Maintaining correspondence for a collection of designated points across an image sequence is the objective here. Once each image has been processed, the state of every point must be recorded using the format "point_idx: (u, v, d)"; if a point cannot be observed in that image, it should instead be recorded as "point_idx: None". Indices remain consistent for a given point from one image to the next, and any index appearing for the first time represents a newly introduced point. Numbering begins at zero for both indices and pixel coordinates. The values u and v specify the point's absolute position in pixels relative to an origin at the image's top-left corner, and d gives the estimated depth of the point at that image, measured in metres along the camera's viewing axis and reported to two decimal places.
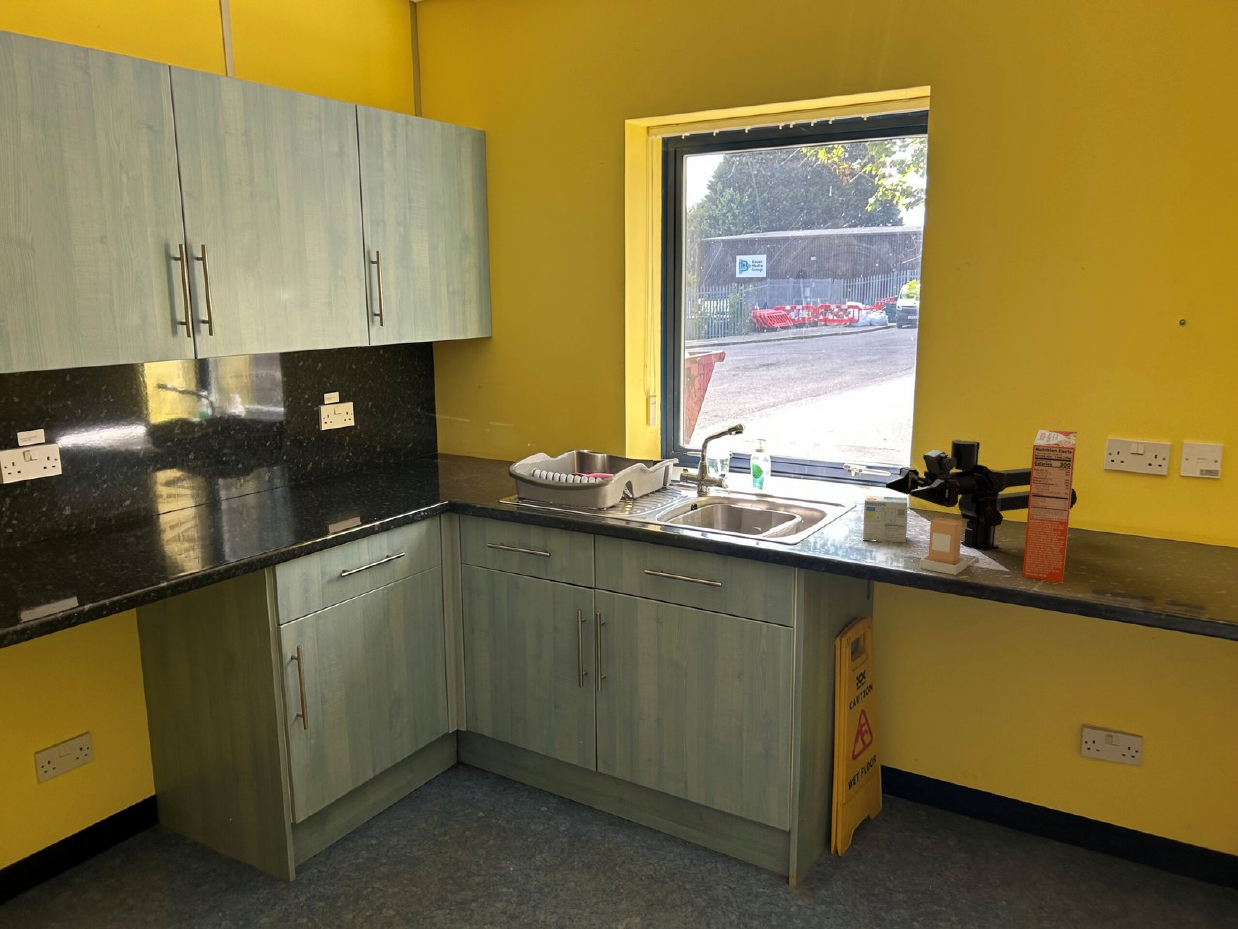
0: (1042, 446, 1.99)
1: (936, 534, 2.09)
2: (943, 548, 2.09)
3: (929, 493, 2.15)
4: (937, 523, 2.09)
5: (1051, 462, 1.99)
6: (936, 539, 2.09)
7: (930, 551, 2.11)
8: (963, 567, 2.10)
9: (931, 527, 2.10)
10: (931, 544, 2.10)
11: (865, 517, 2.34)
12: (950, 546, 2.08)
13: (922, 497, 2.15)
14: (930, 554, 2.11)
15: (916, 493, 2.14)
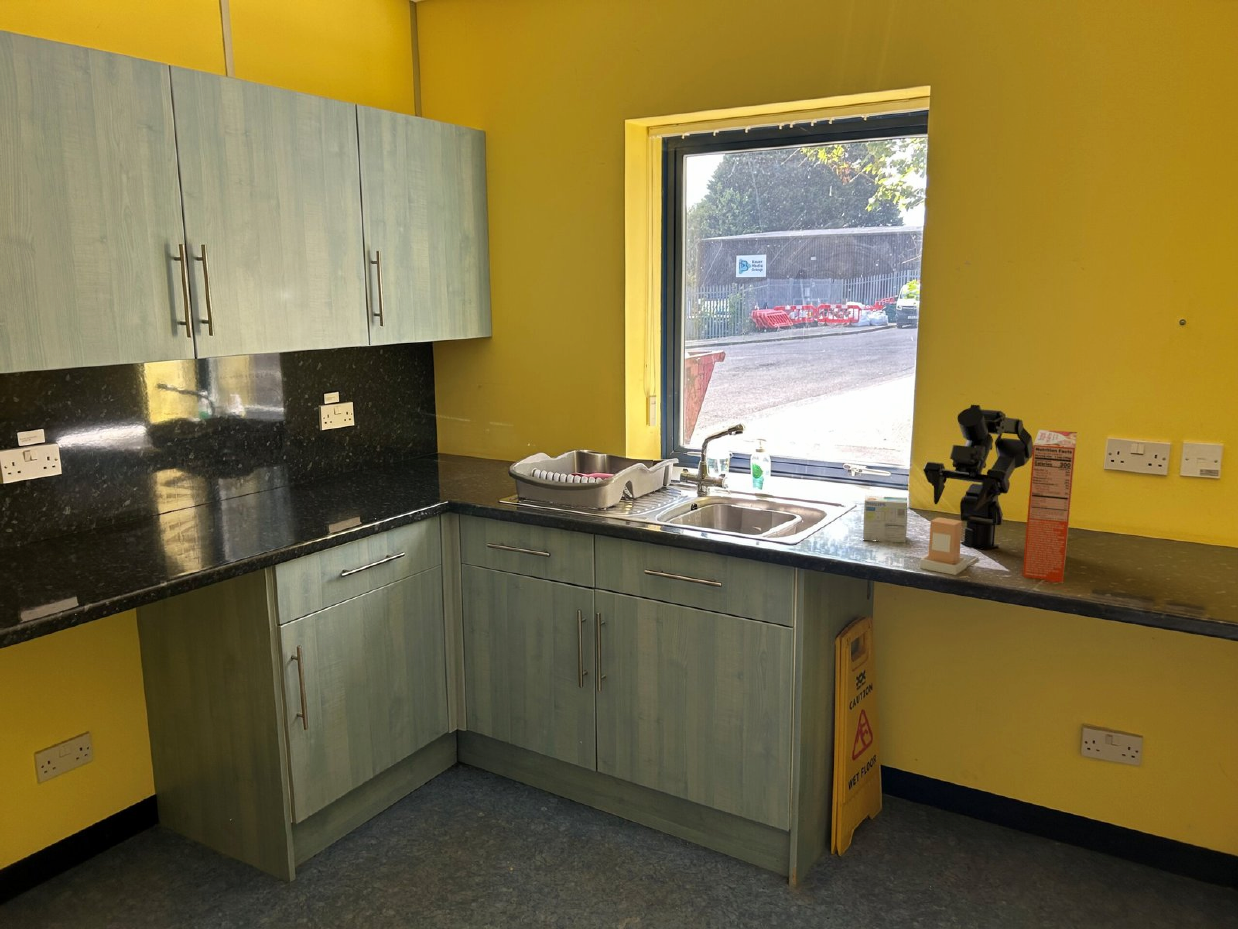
0: (1042, 446, 1.99)
1: (936, 534, 2.09)
2: (943, 548, 2.09)
3: (985, 495, 2.12)
4: (937, 523, 2.09)
5: (1051, 462, 1.99)
6: (936, 539, 2.09)
7: (930, 551, 2.11)
8: (963, 567, 2.10)
9: (931, 527, 2.10)
10: (931, 544, 2.10)
11: (865, 517, 2.34)
12: (950, 546, 2.08)
13: (983, 503, 2.12)
14: (930, 554, 2.11)
15: (978, 505, 2.11)
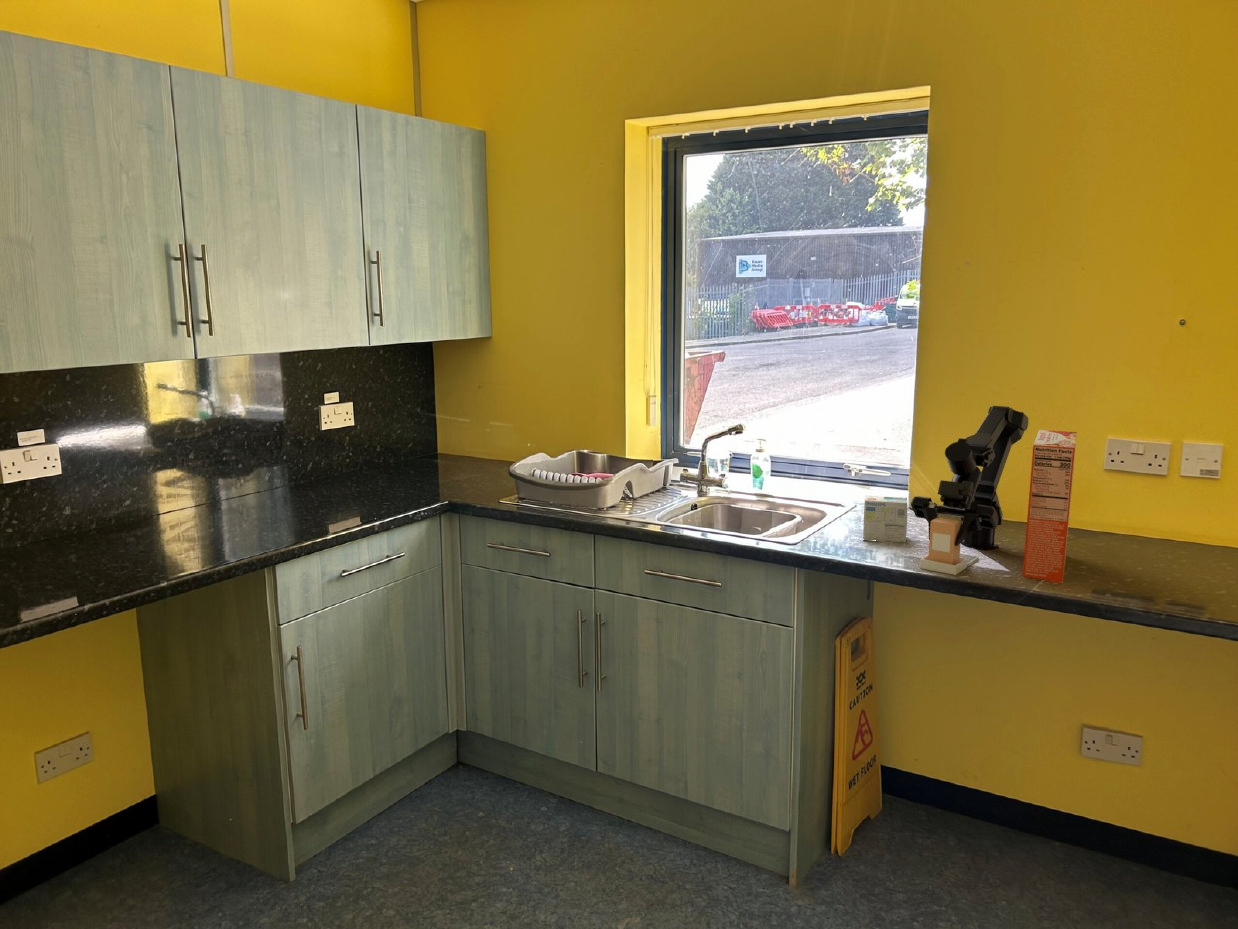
0: (1042, 446, 1.99)
1: (936, 534, 2.09)
2: (943, 548, 2.09)
3: (966, 530, 2.09)
4: (937, 523, 2.09)
5: (1051, 462, 1.99)
6: (936, 539, 2.09)
7: (930, 551, 2.11)
8: (963, 567, 2.10)
9: (931, 527, 2.10)
10: (931, 544, 2.10)
11: (865, 517, 2.34)
12: (950, 546, 2.08)
13: (964, 538, 2.09)
14: (930, 554, 2.11)
15: (959, 541, 2.08)
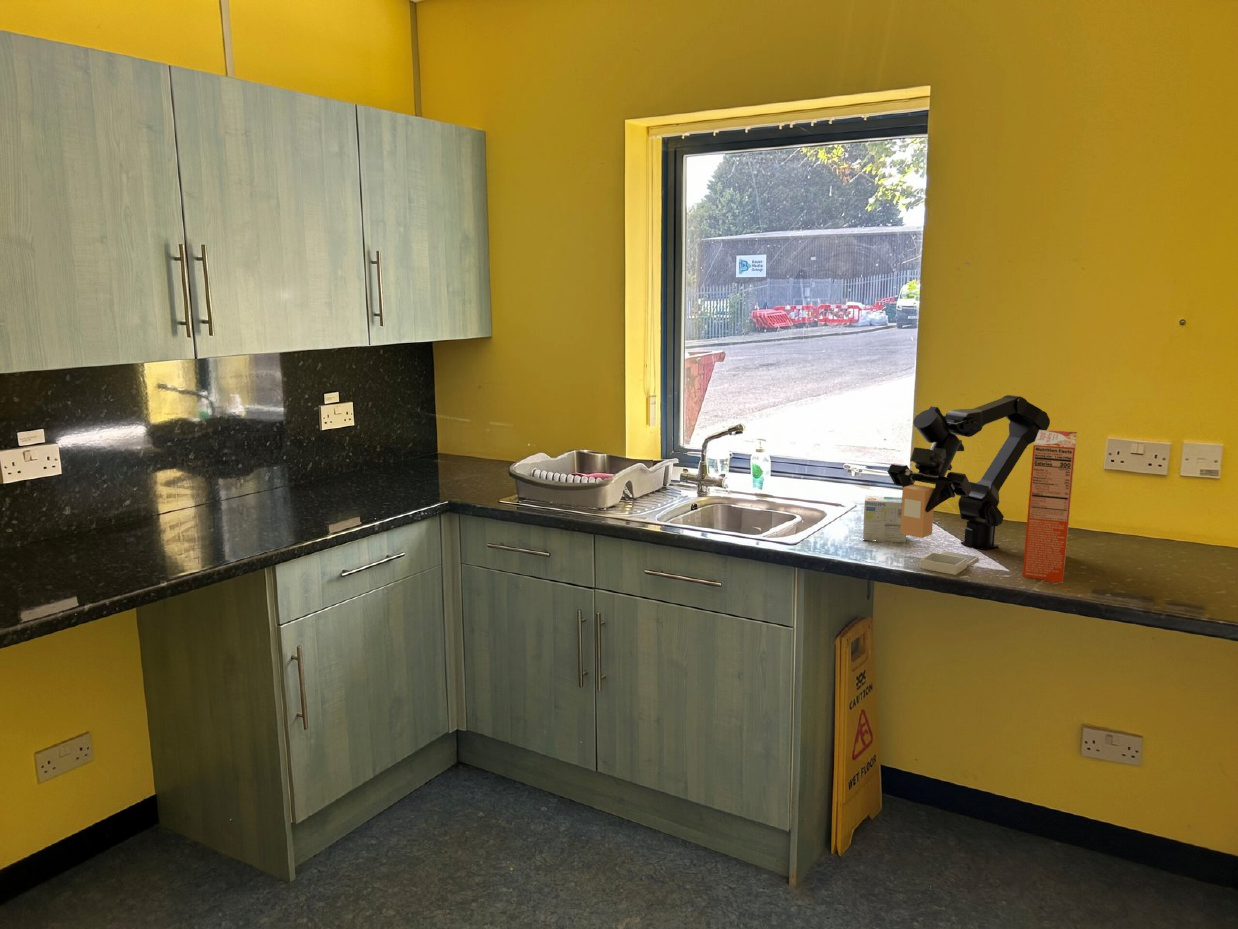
0: (1042, 446, 1.99)
1: (908, 500, 2.12)
2: (914, 514, 2.11)
3: (938, 497, 2.11)
4: (909, 489, 2.12)
5: (1051, 462, 1.99)
6: (908, 505, 2.12)
7: (902, 517, 2.14)
8: (963, 567, 2.10)
9: (903, 493, 2.13)
10: (903, 510, 2.13)
11: (865, 517, 2.34)
12: (920, 512, 2.10)
13: (935, 505, 2.11)
14: (902, 520, 2.14)
15: (930, 507, 2.10)
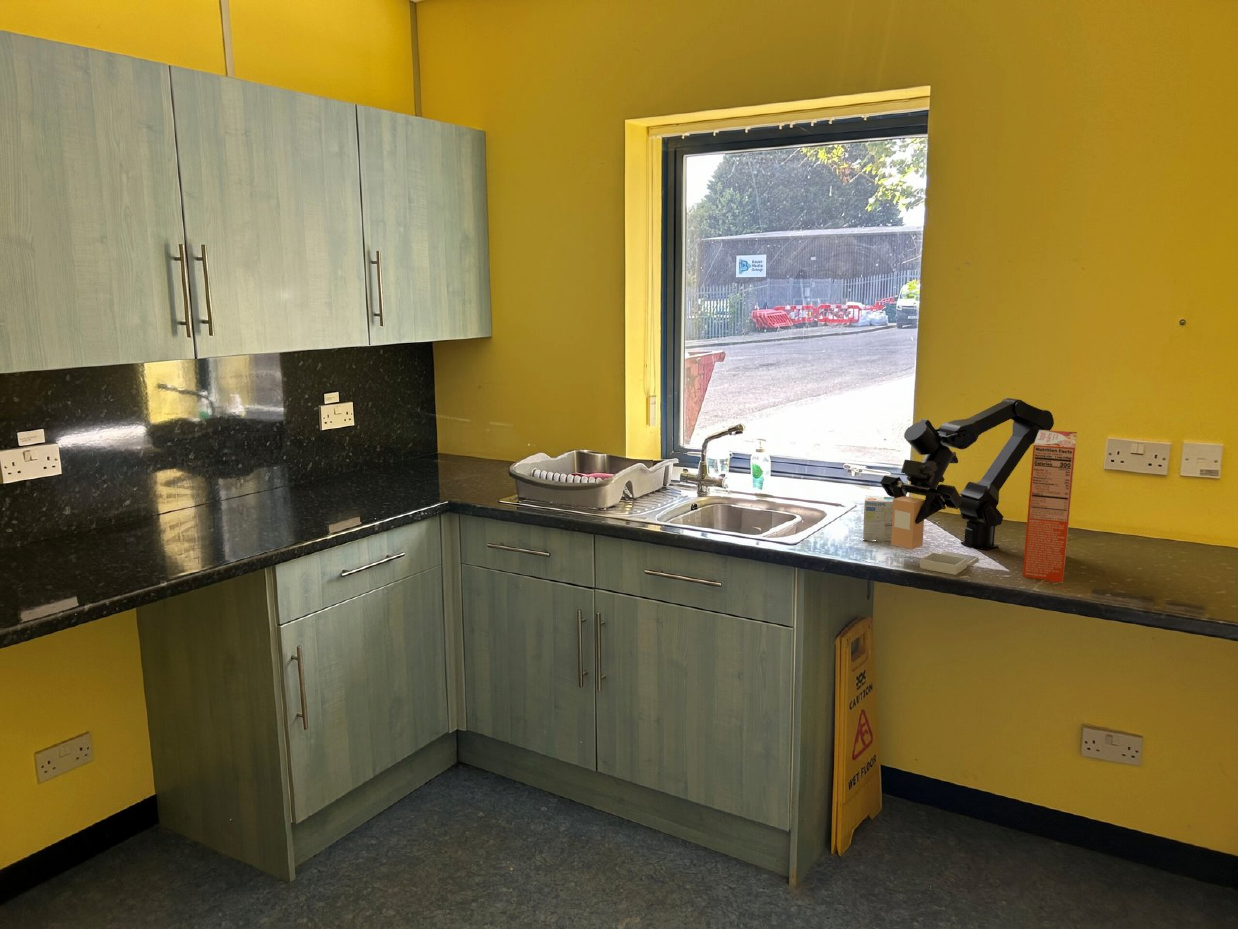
0: (1042, 446, 1.99)
1: (898, 512, 2.14)
2: (904, 525, 2.14)
3: (928, 508, 2.13)
4: (899, 501, 2.14)
5: (1051, 462, 1.99)
6: (898, 516, 2.15)
7: (893, 528, 2.16)
8: (963, 567, 2.10)
9: (893, 505, 2.15)
10: (894, 521, 2.16)
11: (865, 517, 2.34)
12: (910, 524, 2.13)
13: (926, 516, 2.13)
14: (893, 531, 2.16)
15: (920, 519, 2.12)
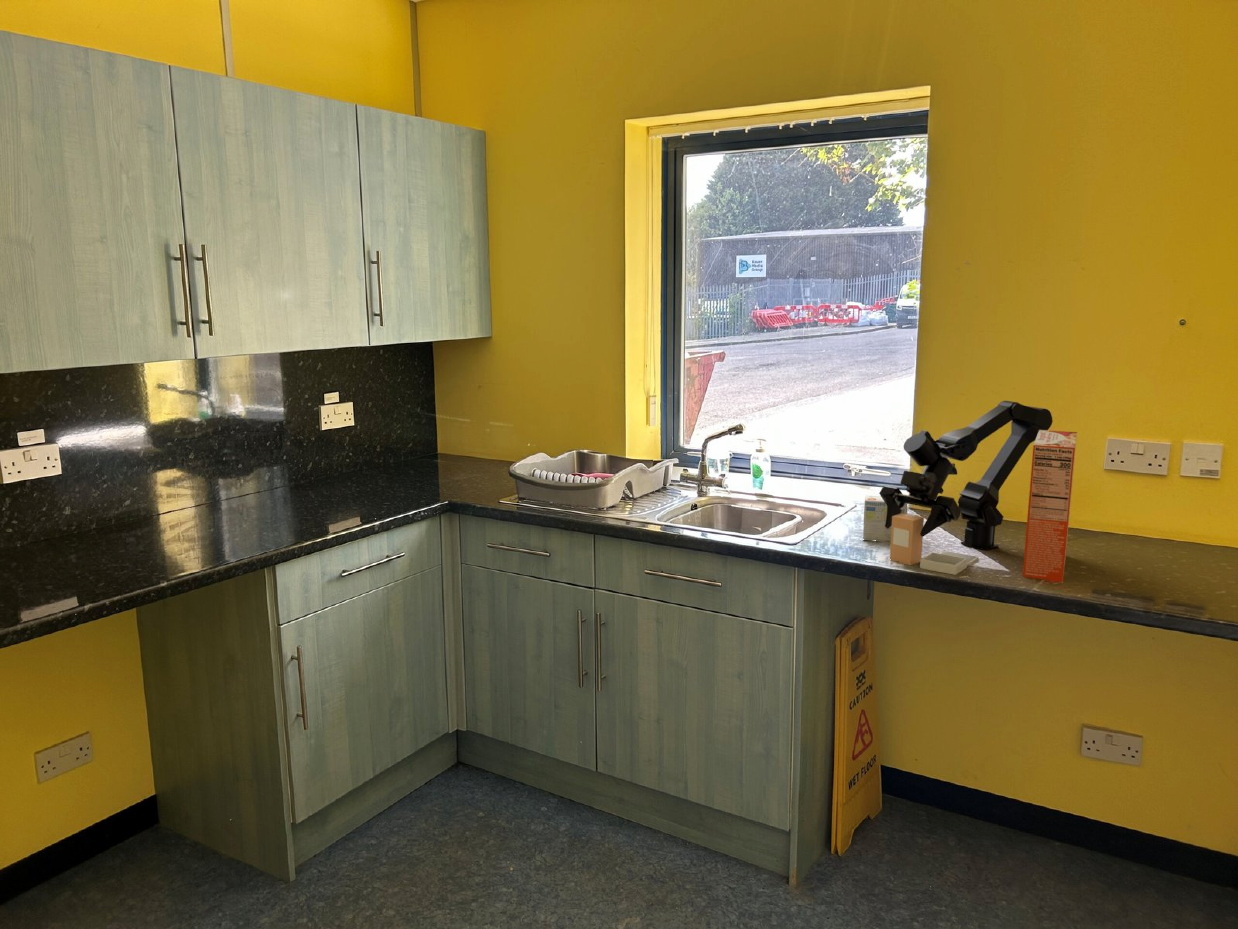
0: (1042, 446, 1.99)
1: (896, 529, 2.15)
2: (903, 543, 2.14)
3: (934, 521, 2.12)
4: (898, 518, 2.15)
5: (1051, 462, 1.99)
6: (896, 534, 2.15)
7: (892, 545, 2.17)
8: (963, 567, 2.10)
9: (892, 522, 2.16)
10: (892, 539, 2.17)
11: (865, 517, 2.34)
12: (908, 541, 2.13)
13: (931, 529, 2.12)
14: (892, 548, 2.17)
15: (925, 531, 2.12)
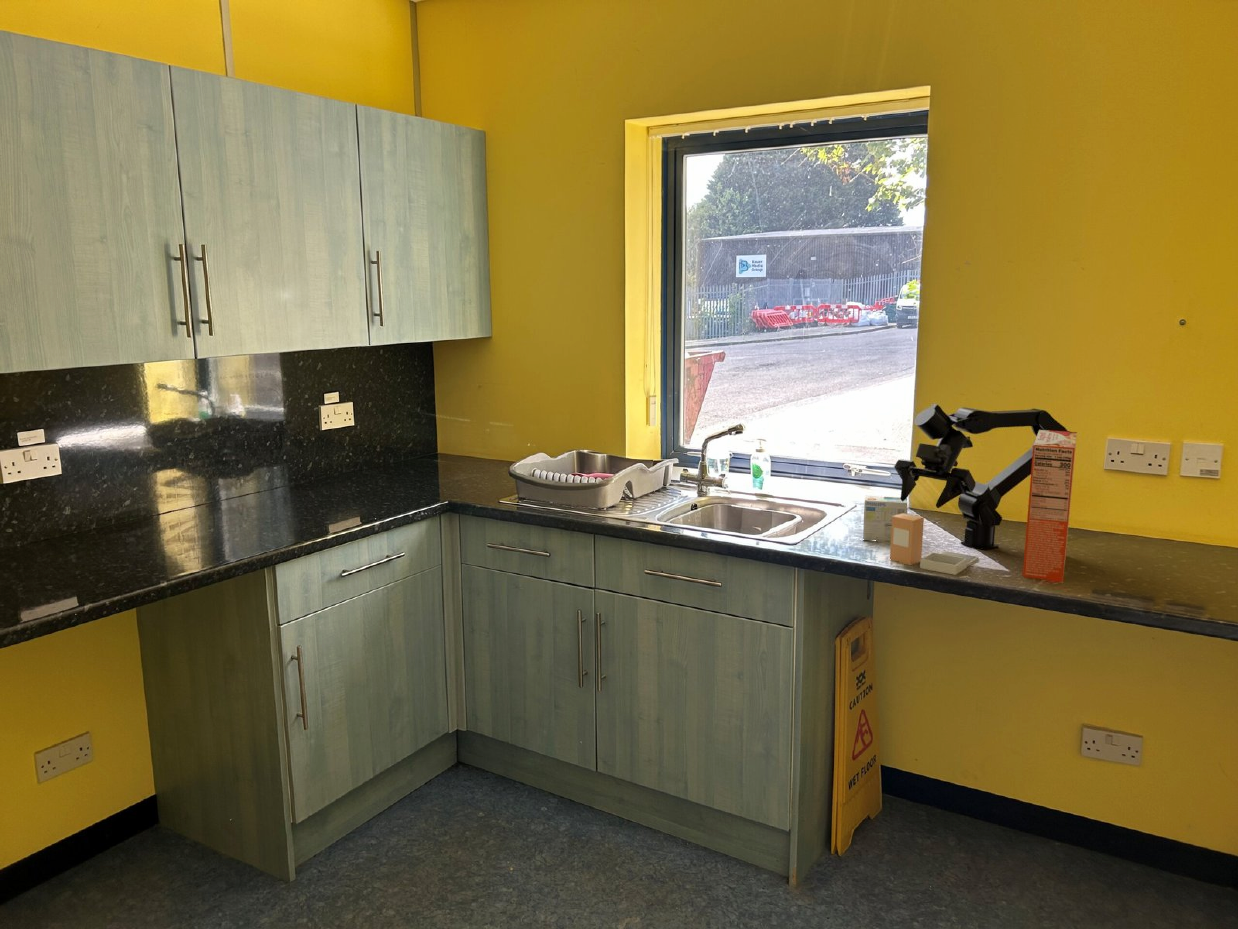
0: (1042, 446, 1.99)
1: (896, 529, 2.15)
2: (903, 543, 2.14)
3: (949, 493, 2.15)
4: (898, 518, 2.15)
5: (1051, 462, 1.99)
6: (896, 534, 2.15)
7: (892, 545, 2.17)
8: (963, 567, 2.10)
9: (892, 522, 2.16)
10: (892, 539, 2.17)
11: (865, 517, 2.34)
12: (908, 541, 2.13)
13: (946, 501, 2.15)
14: (892, 548, 2.17)
15: (941, 503, 2.14)
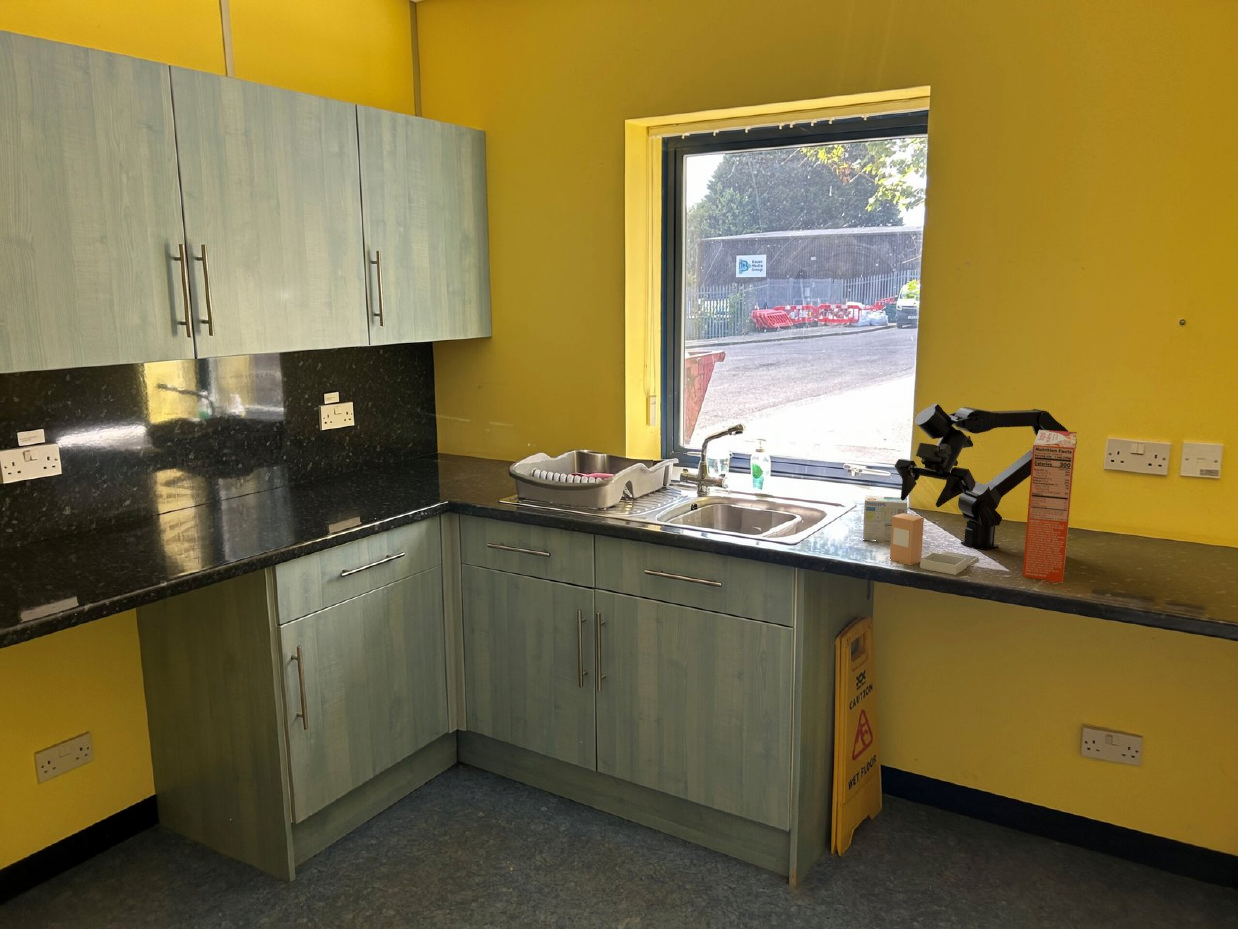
0: (1042, 446, 1.99)
1: (896, 529, 2.15)
2: (903, 543, 2.14)
3: (949, 492, 2.15)
4: (898, 518, 2.15)
5: (1051, 462, 1.99)
6: (896, 534, 2.15)
7: (892, 545, 2.17)
8: (963, 567, 2.10)
9: (892, 522, 2.16)
10: (892, 539, 2.17)
11: (865, 517, 2.34)
12: (908, 541, 2.13)
13: (946, 500, 2.15)
14: (892, 548, 2.17)
15: (941, 502, 2.14)
